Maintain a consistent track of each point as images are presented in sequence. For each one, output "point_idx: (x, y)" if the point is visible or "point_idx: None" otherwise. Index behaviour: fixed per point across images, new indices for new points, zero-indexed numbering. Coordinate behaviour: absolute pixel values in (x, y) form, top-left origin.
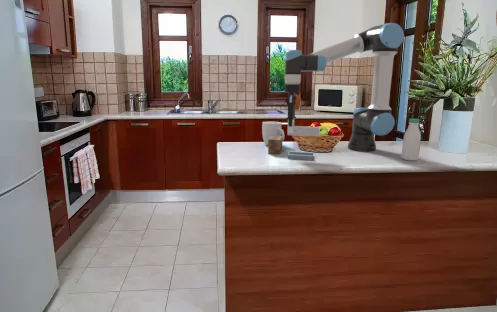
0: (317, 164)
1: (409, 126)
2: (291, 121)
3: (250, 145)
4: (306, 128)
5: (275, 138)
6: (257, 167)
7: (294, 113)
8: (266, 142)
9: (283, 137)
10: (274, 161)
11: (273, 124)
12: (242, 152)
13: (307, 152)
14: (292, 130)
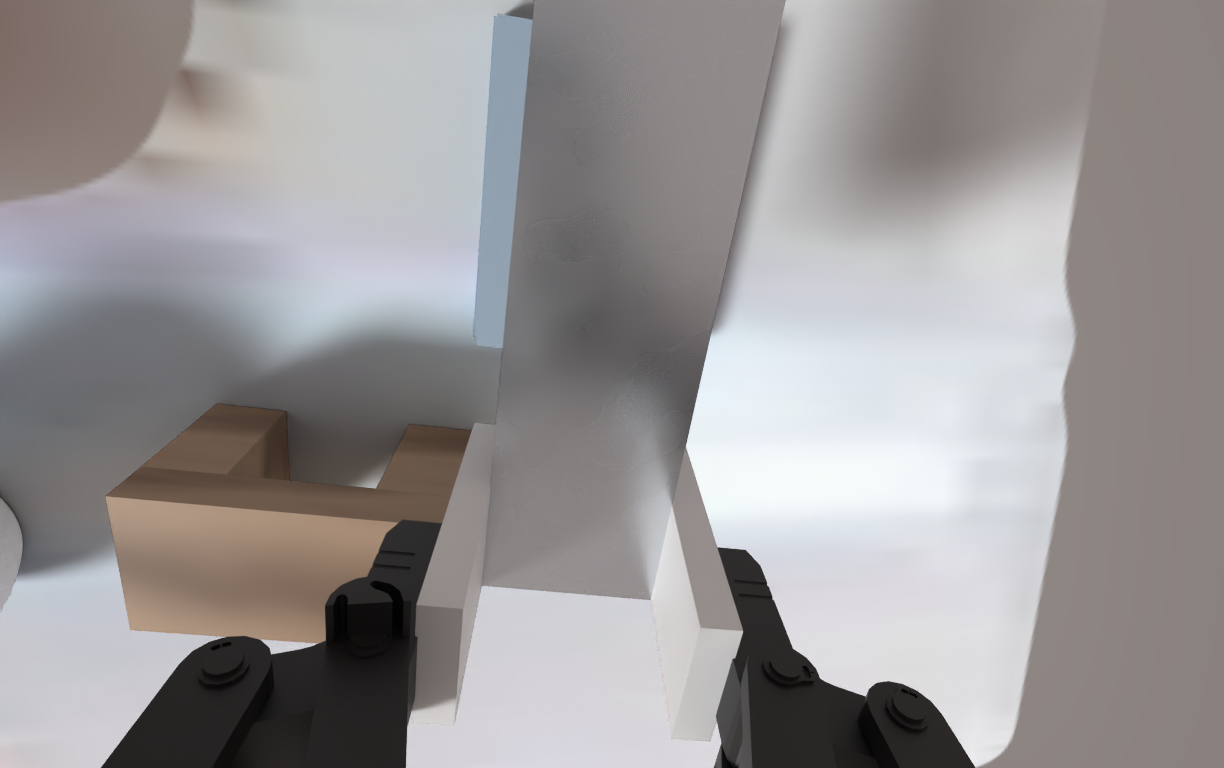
0: (942, 20)
1: None
2: (782, 641)
3: (101, 701)
4: (735, 211)
5: (336, 581)
6: (997, 586)
7: (232, 734)
8: (8, 594)
9: None
10: (796, 473)
11: None
12: (462, 725)
13: (512, 109)
14: (689, 481)
